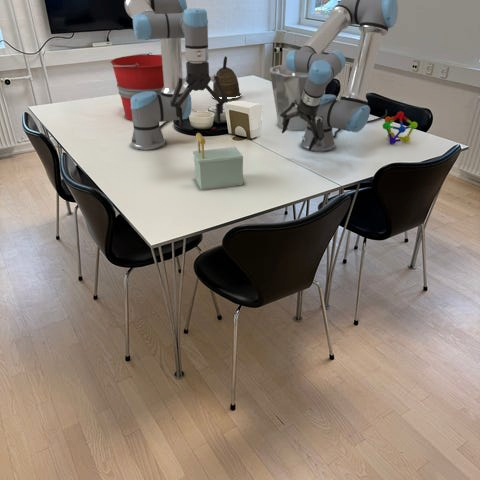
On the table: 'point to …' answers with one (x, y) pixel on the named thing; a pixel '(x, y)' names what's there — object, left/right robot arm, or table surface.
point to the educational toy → (398, 128)
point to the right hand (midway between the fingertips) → (297, 139)
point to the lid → (215, 153)
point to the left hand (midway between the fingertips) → (200, 124)
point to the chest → (219, 173)
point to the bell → (227, 81)
